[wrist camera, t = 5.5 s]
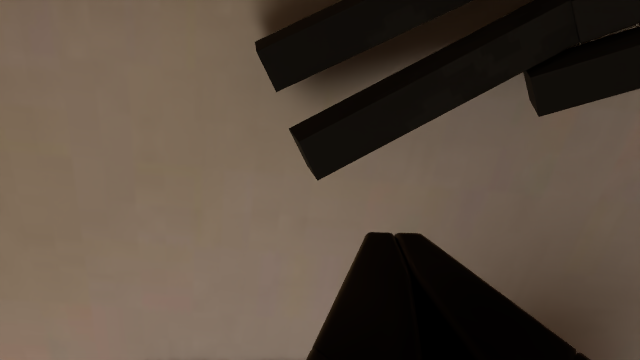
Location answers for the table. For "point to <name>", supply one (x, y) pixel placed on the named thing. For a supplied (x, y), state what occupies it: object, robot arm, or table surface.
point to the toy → (450, 66)
